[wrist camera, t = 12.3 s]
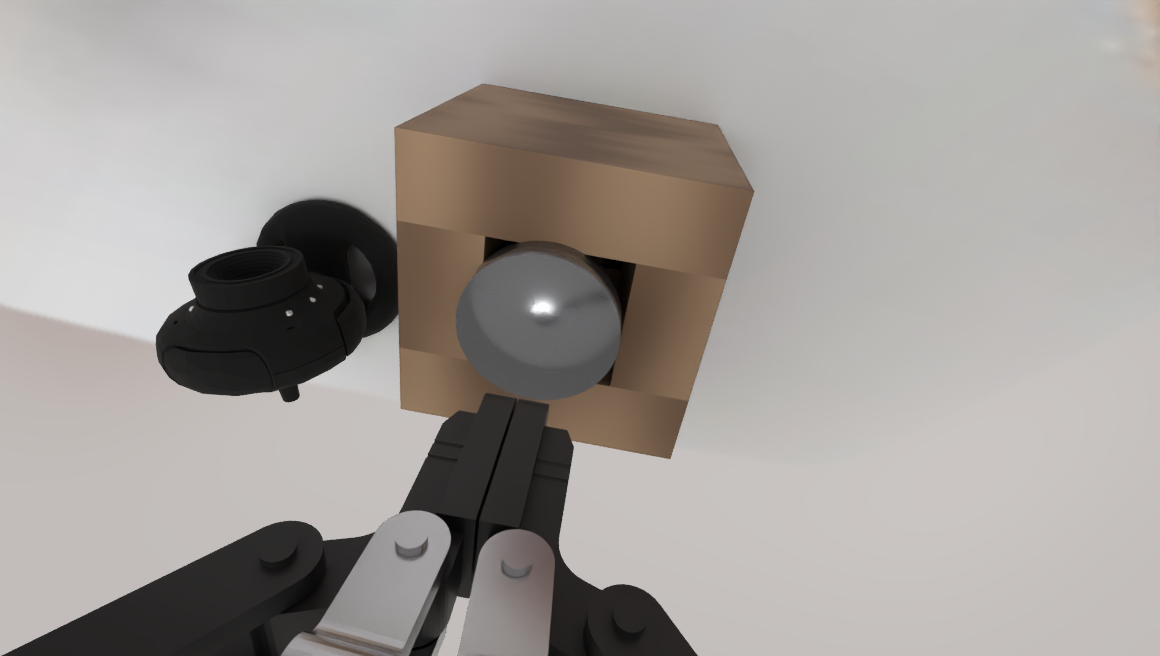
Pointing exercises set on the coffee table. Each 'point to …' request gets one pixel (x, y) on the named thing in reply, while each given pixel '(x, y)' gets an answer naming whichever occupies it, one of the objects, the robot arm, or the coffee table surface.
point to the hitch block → (567, 244)
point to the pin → (540, 320)
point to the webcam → (280, 305)
